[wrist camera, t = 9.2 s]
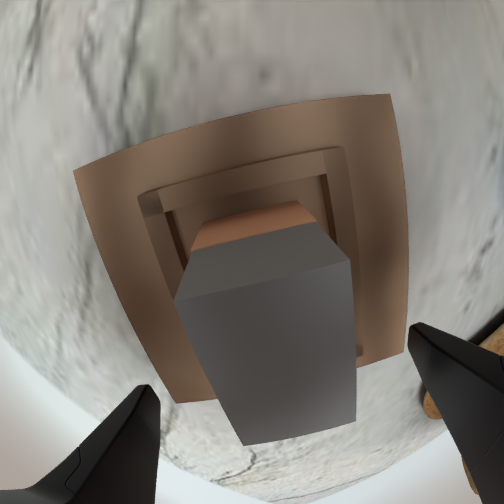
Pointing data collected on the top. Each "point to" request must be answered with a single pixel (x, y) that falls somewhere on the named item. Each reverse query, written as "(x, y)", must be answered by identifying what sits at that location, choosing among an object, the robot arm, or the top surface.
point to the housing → (272, 322)
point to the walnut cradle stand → (248, 199)
